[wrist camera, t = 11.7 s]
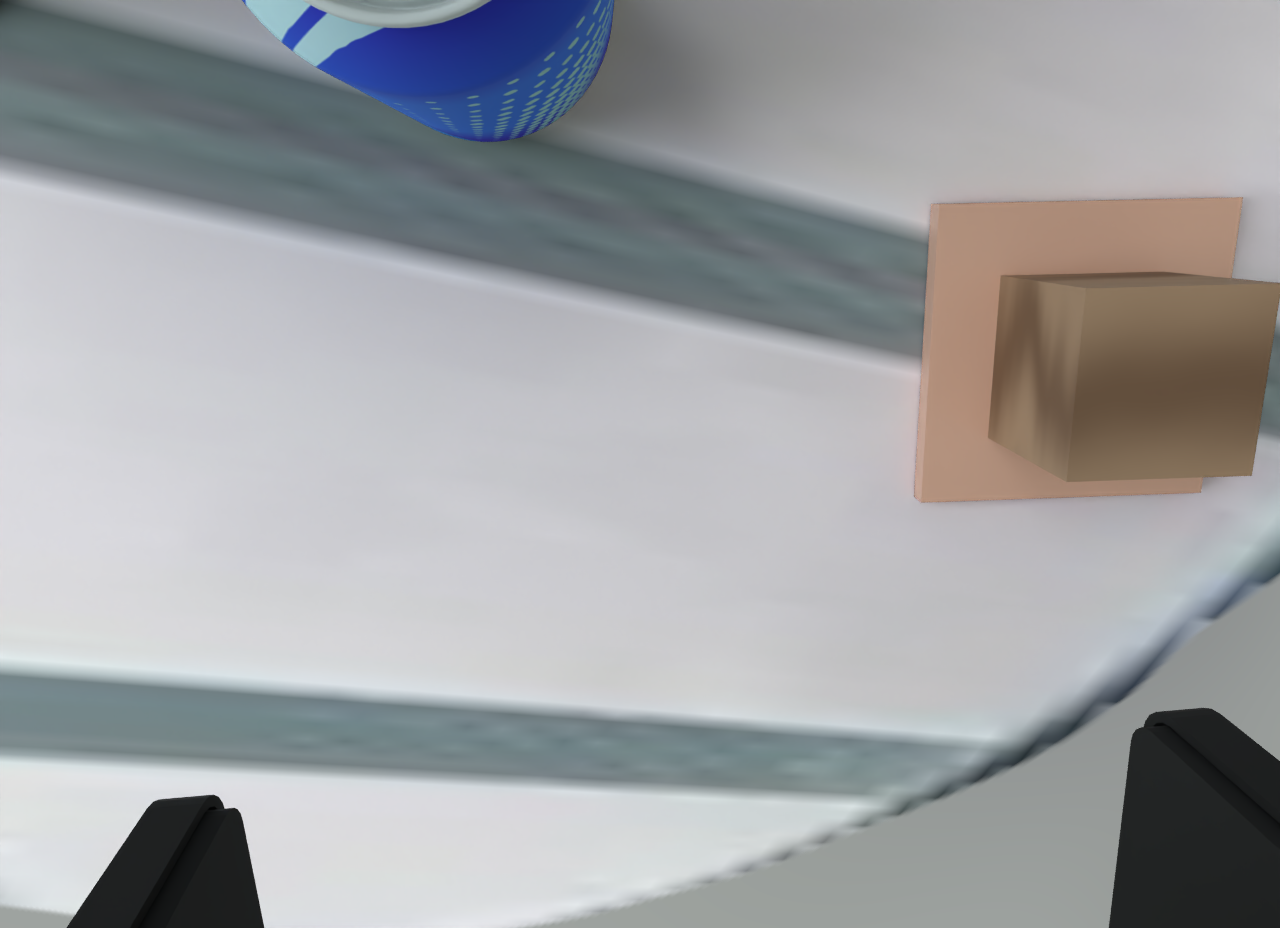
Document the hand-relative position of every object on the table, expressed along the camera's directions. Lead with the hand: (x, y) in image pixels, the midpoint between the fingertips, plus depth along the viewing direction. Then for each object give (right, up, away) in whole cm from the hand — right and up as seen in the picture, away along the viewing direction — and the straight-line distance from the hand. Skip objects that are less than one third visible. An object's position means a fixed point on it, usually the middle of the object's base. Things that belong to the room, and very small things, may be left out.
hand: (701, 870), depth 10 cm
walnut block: (+15, +8, +25) cm, 30 cm away
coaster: (+15, +8, +25) cm, 31 cm away
